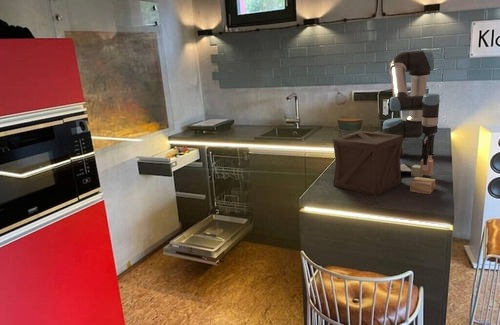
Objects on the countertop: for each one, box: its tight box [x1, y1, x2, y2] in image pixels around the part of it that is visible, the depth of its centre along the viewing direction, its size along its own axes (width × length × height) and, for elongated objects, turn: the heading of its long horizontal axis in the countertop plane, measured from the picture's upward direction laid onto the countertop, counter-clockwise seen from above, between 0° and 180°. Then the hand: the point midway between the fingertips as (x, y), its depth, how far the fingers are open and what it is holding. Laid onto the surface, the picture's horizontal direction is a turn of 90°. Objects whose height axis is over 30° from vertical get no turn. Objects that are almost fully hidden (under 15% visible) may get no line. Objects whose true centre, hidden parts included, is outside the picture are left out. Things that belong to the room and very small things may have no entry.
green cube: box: [410, 164, 425, 178], centre depth 206 cm, size 5×5×5 cm
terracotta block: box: [420, 158, 435, 176], centre depth 199 cm, size 5×5×7 cm
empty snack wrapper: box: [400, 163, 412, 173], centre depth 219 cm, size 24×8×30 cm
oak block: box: [409, 176, 436, 195], centre depth 184 cm, size 9×9×5 cm
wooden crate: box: [332, 130, 404, 197], centre depth 195 cm, size 25×25×25 cm
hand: (426, 168), depth 199 cm, fingers closed on terracotta block, 5 cm apart
